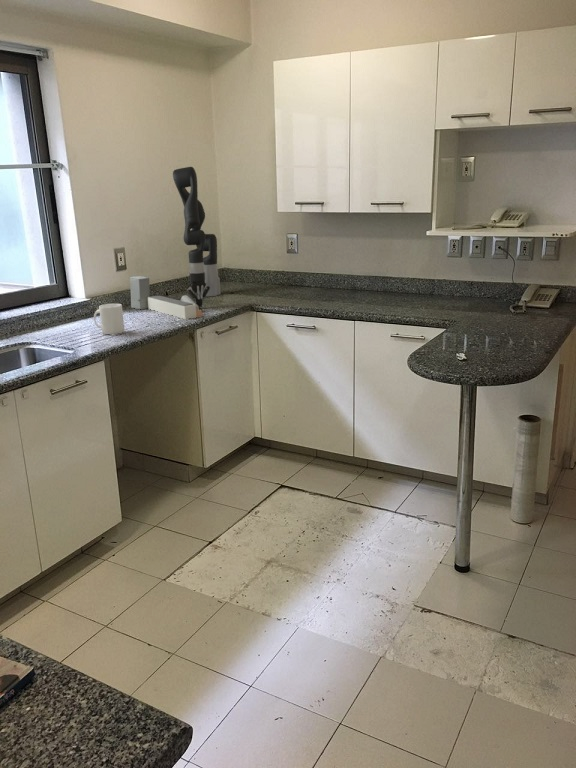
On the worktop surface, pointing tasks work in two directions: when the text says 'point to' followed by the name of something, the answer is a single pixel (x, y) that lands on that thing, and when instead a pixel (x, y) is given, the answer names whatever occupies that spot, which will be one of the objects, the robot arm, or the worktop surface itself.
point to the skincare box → (139, 292)
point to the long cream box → (173, 307)
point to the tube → (189, 301)
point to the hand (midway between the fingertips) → (199, 306)
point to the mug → (110, 318)
